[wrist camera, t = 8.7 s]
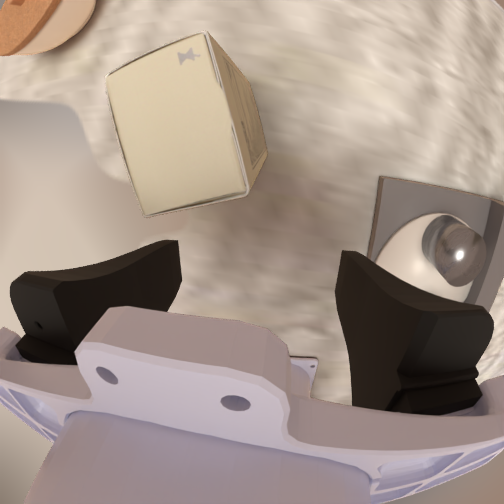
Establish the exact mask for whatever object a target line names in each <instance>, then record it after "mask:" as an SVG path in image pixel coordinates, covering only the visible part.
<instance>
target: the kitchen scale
mask: <svg viewBox="0 0 504 504" xmlns="http://www.w3.org/2000/svg"><path fill="white" fill-rule="evenodd" d="M441 215H450V216H453V217H454V218H456V219H457V220H459V221H460V222H462V223H463V224H465V225H466V226H468V227H469V228H471V229H472V230H474V231H475V232H476V233H478V234H479V235H481V236H482V238H483V239H484V241H485V244H486V259H485V262H484V265H483V267H482V269H481V271H480V273H479V274H478V275H477V277H476V278H475V279H474V280H473V281H471V282H470V283H469V284H467V285H464V286H461V287H454V286H451V285H450V284H449V283H448V282H447V281H446V280H445V279H444V278H443V277H442V275H441V274H440V273H439V272H438V271H437V270H436V269H435V268H434V266H433V265H432V264H431V263H430V262H429V261H428V260H427V259H426V257H425V256H424V254H423V251H422V237H423V234H424V231H425V229H426V228H427V226H428V225H429V223H430V222H431V221H432V220H434V219H435V218H436V217H438V216H441ZM367 258H368V259H370V260H371V261H373V262H374V263H376V264H377V265H379V266H380V267H382V268H383V269H385V270H386V271H388V272H389V273H391V274H393V275H394V276H396V277H398V278H399V279H401V280H403V281H405V282H407V283H409V284H411V285H413V286H415V287H417V288H420V289H422V290H424V291H427V292H429V293H432V294H435V295H438V296H441V297H444V298H447V299H451V300H455V301H458V302H463V303H469V304H474V305H480V306H483V307H484V308H485V309H486V310H487V312H488V313H489V311H490V309H491V307H492V304H493V302H494V300H495V297H496V295H497V293H498V291H499V290H500V287H501V282H502V280H503V277H504V202H502V201H499V200H495V199H491V198H488V197H484V196H480V195H476V194H472V193H468V192H463V191H459V190H455V189H450V188H445V187H441V186H436V185H430V184H425V183H420V182H414V181H408V180H402V179H396V178H390V177H383V176H380V177H379V186H378V194H377V201H376V208H375V215H374V221H373V227H372V233H371V239H370V244H369V249H368V255H367Z"/></svg>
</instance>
